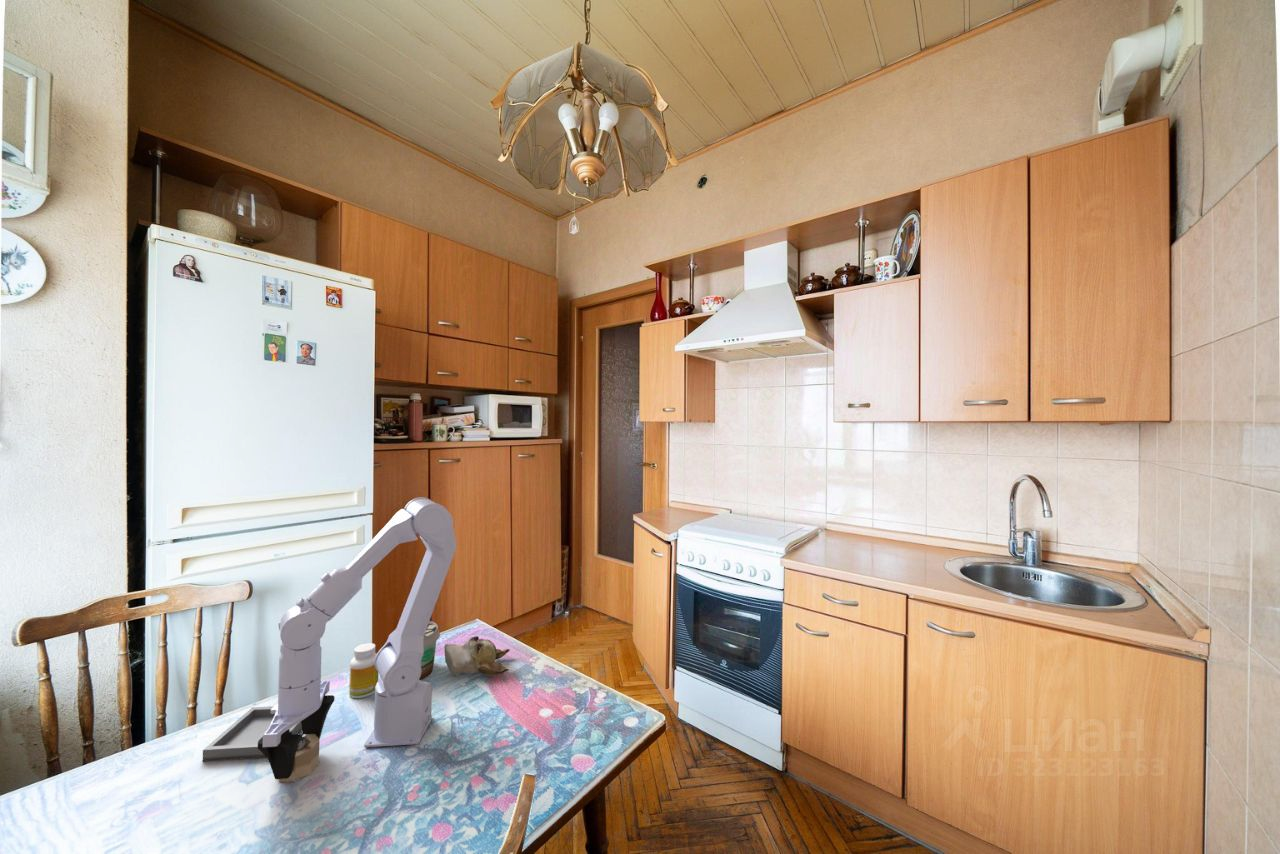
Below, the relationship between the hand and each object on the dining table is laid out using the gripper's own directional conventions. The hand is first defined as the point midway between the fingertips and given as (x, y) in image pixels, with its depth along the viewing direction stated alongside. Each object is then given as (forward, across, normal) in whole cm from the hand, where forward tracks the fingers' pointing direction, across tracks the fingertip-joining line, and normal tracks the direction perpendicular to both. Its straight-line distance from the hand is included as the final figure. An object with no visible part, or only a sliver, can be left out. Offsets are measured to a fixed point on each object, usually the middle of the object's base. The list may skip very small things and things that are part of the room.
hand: (297, 759), depth 75 cm
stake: (+2, 0, 0) cm, 2 cm away
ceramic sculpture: (+2, -28, +23) cm, 37 cm away
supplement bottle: (+2, -22, 0) cm, 22 cm away
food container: (+2, -28, +10) cm, 30 cm away
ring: (+2, 0, 0) cm, 2 cm away
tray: (+2, -9, -11) cm, 14 cm away
